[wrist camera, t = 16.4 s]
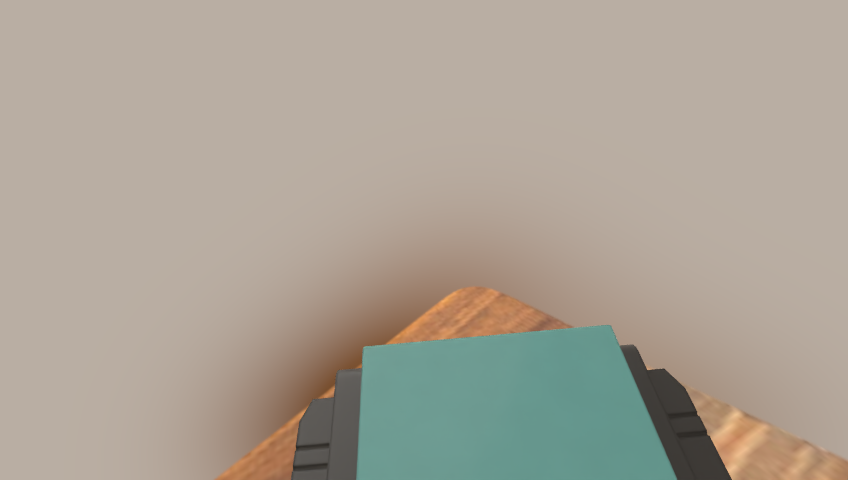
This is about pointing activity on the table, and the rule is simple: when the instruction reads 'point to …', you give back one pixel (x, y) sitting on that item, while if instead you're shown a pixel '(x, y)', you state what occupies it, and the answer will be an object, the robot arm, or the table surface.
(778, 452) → the table surface
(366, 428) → the teal block
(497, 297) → the table surface
